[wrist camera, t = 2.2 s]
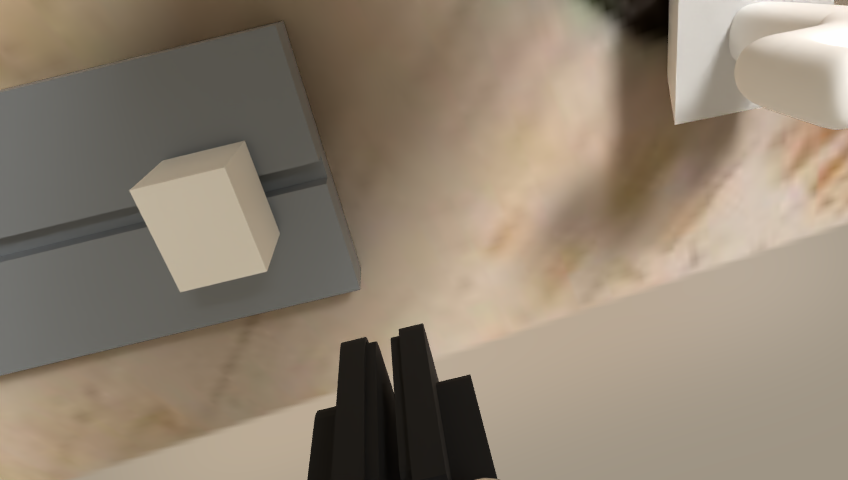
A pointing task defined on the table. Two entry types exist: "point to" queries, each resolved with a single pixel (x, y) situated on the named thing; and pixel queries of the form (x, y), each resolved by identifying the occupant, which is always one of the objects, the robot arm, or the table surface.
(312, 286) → the fader board
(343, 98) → the table surface
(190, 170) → the fader knob
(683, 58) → the figurine
